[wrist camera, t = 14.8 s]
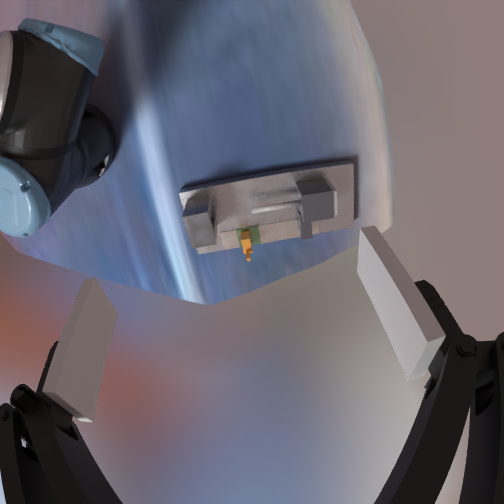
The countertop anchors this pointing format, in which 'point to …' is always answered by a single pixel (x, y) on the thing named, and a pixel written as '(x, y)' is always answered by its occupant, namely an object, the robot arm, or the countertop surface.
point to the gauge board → (259, 194)
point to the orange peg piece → (246, 244)
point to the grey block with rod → (309, 204)
